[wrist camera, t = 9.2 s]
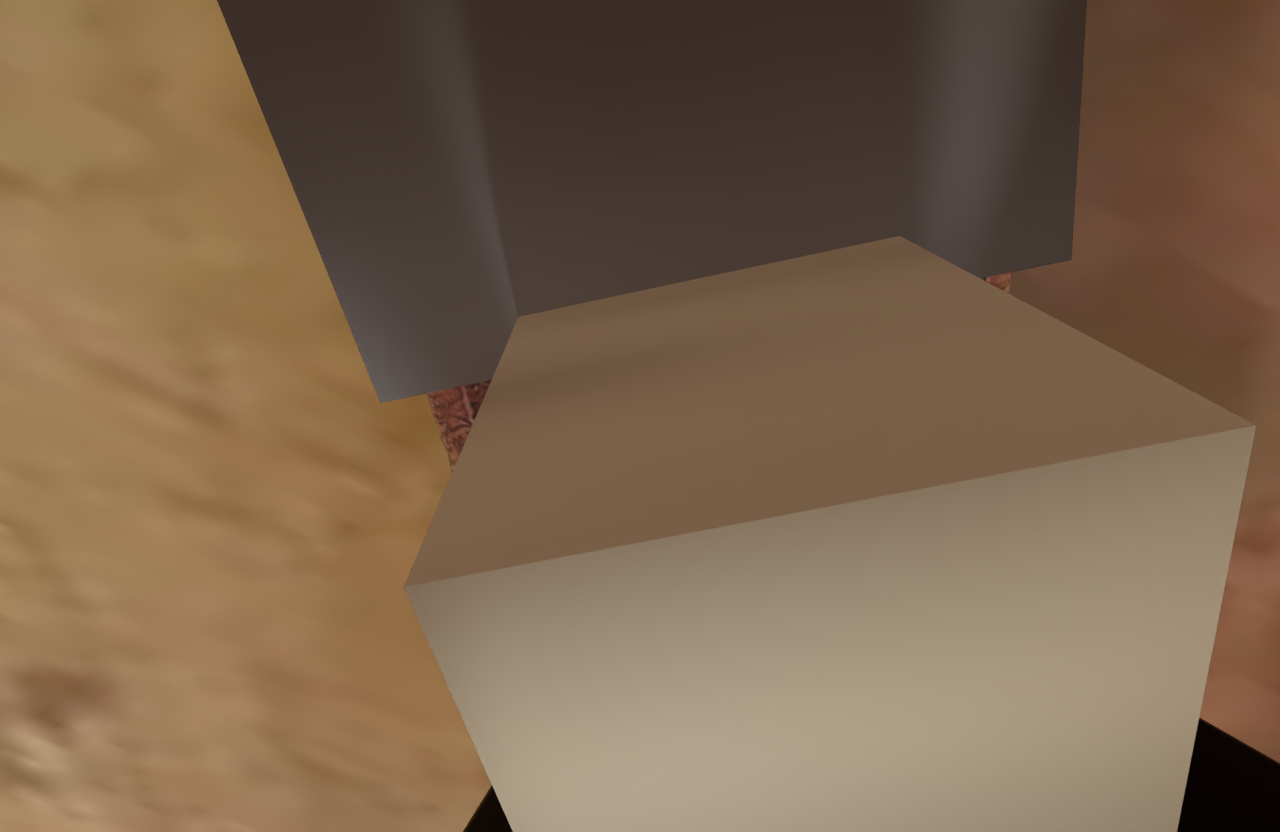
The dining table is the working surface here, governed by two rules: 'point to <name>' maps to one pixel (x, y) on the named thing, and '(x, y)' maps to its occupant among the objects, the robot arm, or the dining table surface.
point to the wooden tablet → (464, 402)
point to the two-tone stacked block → (764, 408)
